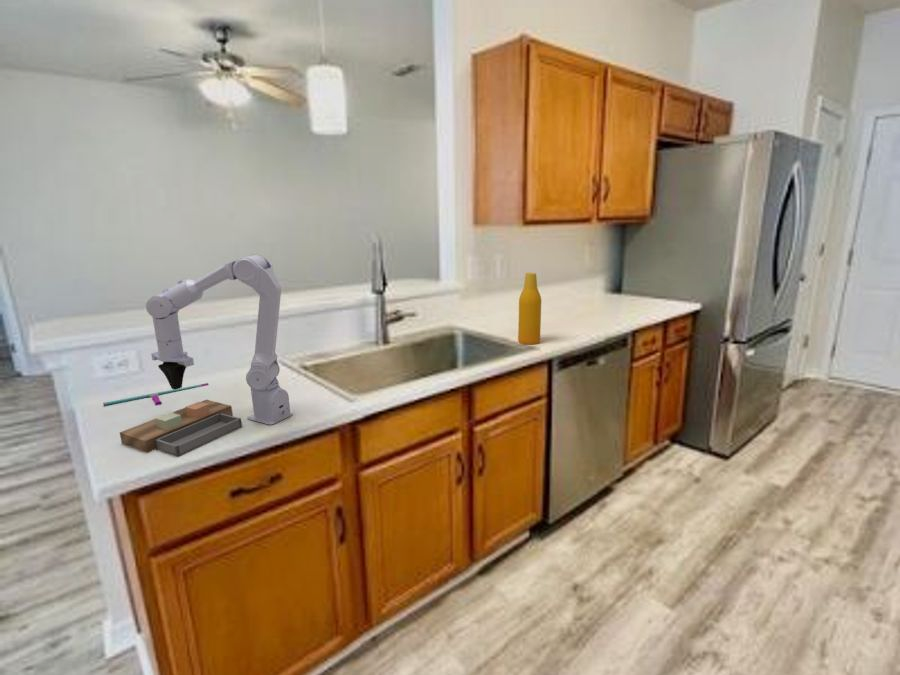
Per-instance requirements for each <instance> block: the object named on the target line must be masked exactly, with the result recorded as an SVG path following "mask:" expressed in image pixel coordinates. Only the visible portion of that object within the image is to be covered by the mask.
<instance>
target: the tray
mask: <svg viewBox="0 0 900 675" xmlns="http://www.w3.org/2000/svg"><path fill="white" fill-rule="evenodd" d="M242 427H243V423H242V418H241V417H238V416H230V415H226V414H222V413H218V414H216V415H213V416H211V417H209V418H206V419H204V420H201V421H199V422H197V423H194V424H192V425H189V426H187V427H185V428H182V429H180V430H177V431H175V432H173V433H170V434H168V435H165V436H163V437H161V438H158V439H156V440H155V444H156V449H155V450H157V451H159V452H163V453H166V454H168V455H172V456H175V457H177V458H179V457H180V456H183V455H185V454H186V453H189V452H191V451H194V450H196V449H198V448H200V447H202V446H205V445H206V444H208V443H212V442H213V441H215V440H217V439H219V438H221V437H224V436H227V435H228V434H230V433H233V432H235V431H236V430H238V429H241V428H242Z"/></svg>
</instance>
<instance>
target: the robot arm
mask: <svg viewBox="0 0 900 675" xmlns="http://www.w3.org/2000/svg"><path fill="white" fill-rule="evenodd" d="M227 280H230V281H236V280H238V281H239V282H241V283H243V284H245V285H246V286H248V287H250V288H252V289H253V290H254V291H255V292H256V293H257V294H258V296H259V299H258V300H259V301H258V312H257V324H256V333H255V334H256V335H255V347H254V348H255V349H254V354H253V356H252V360H251V362H250V367H249V368H250V369H249V370H248V371H247V373H246V376H245V381H246V384H247V385H248V386H249V387H250V393H251V402H252V409H253V414H251V415H249V416H247V417H246V418H247V420H250V421H254V422H259V423H261V424H266V425H270V426H273V425H274V424H277V423H278V422H281V421H283V420H285V419H286V418H289V417H291V416H293V414H294V413H293V412H291V406H290V405H291V404H290V399H289V398H290V397H289V393H288V392H287V390H286V389H284V388H282V387H281V385H280V382H279V380H278V379H277V377H278V376H279V374H280V371H281V370H280V365H279V363H278V354H277V353H276V345H277V336H278V327H279V326H278V325H279V316H280V305H281V298H282V297H281V296H282V295H281V294H282V287H281V284H280V282H279V280H278V277H277V275H276V273H275V272H274V267H273V264H272V263H271V261H269V260H268V259H267V258H266V257H264V256H263V255H261V254H259V253H257V254H251V255H249V256H246V257H245V256H242V257H239V258H238V259H236V260H232V261H230V262H229V261H228V262H226V263H224V264H222V265H220V266H218V267H217V268H215V269H213V270H212V271H210V272H208V273H207V274H205V275H203V276H201V277H200V278H198V279H196V280H194V279H189V278H188V279H184V278H182V279H179V280H178V281H177V284H176V285H174V286H172V287H170V288H165V289H163V290H162V291H161V292H162V293H160V294H158V295H157V294H156V295H152V296H151V297H150V298H149V299H148V300H147V302H146V303H145V308H146V312H147V314H149V316H151V318H152V322H153V323H152V324H153V327H154V333H155V340H156V345H157V346H156V347H157V351H154V352H151V353H150V354H151V355H150V356H151V359H152V361H159V362H162V364H158V369H160V371H161V372H162V373H163V374H164V376H165V378H166V380H167V382H168V384H169V386H170V389H171V390H176V389H179V388H183V382H184V376H185V375H184V374H185V372H186V369H187V368H188V367H192V366H193V365H195V363H194V362H195V361H194V358H193V357H191V356H189V355H188V352H187V351H184V347H183V346H184V345H183V340H182V335H181V329H180V328H181V327H180V321H179V315H178V314H179V311H180V310H182V309H184V308H186V307H188V306H190V305H191V304H193V303H195V302H197V301H199V300H201V299H202V298H203V296H204V291H206V290H209V289H210V288H212V287H214V286H217V285H218V284H221V283H223V282H224V281H227Z"/></svg>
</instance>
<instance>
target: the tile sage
mask: <svg viewBox="0 0 900 675" xmlns="http://www.w3.org/2000/svg"><path fill="white" fill-rule="evenodd" d="M155 419H156V424H157V427H158V428H161V429H164V430H169V429H172V428H174V427H177V426H179V425H182V420H181V415H178V414H175V413H172V412H171V411H170V412H168V413H165V414H163V415H160V416H158V417H155Z"/></svg>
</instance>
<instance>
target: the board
mask: <svg viewBox="0 0 900 675" xmlns="http://www.w3.org/2000/svg"><path fill="white" fill-rule="evenodd" d="M200 402H202V403H206V404H209V410H210V413H209V414H206V415H204V416H201V417H199V418H193V417H189V416H187V415H186V409H185V407H183V408H180V409H178V410H176V411H172V412H171V413H175V414H178V415H181V420H182V425H179V426H177V427H174V428H172V429H169V430H164V429H161V428H158V427H157V424H156V418H154V419H151V420H149V421H147V422H144V423H143V422H142V423H141V424H139V425H136V426H133V427H131V428H128V429H125V430H123V431H120V432H119V436H120V442H121V444H122V445H124V446H127V447H130V448H133V449H136V450H138V451H142V452H143V453H147V454H148V453H150V452H153V451H154V450H157V449H156V444H155V440H156V439H158V438H161V437H163V436H165V435H168V434H170V433H173V432H175V431H177V430H180V429H182V428H185V427H187V426H189V425H192V424H194V423H197V422H199V421H201V420H204V419H206V418H209V417H211V416H213V415H216V414H218V413H222V414H226V415H230V416H233V415H234V414H233V408H232V405H230V404H227V403H222V402H219V401H218V402H217V401H214V400H209V399H205V400H201V401H200ZM152 450H153V451H152Z"/></svg>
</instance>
